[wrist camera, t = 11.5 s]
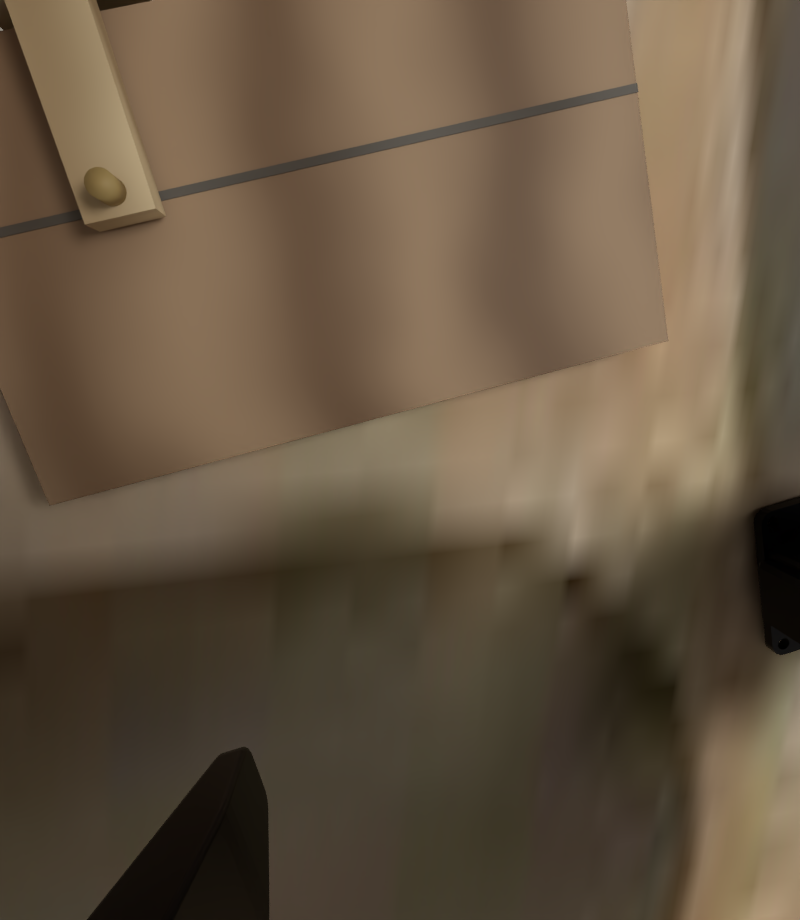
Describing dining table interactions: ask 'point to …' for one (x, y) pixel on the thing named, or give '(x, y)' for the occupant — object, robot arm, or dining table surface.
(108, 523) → the dining table surface
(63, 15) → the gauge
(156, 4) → the board
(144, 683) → the dining table surface
